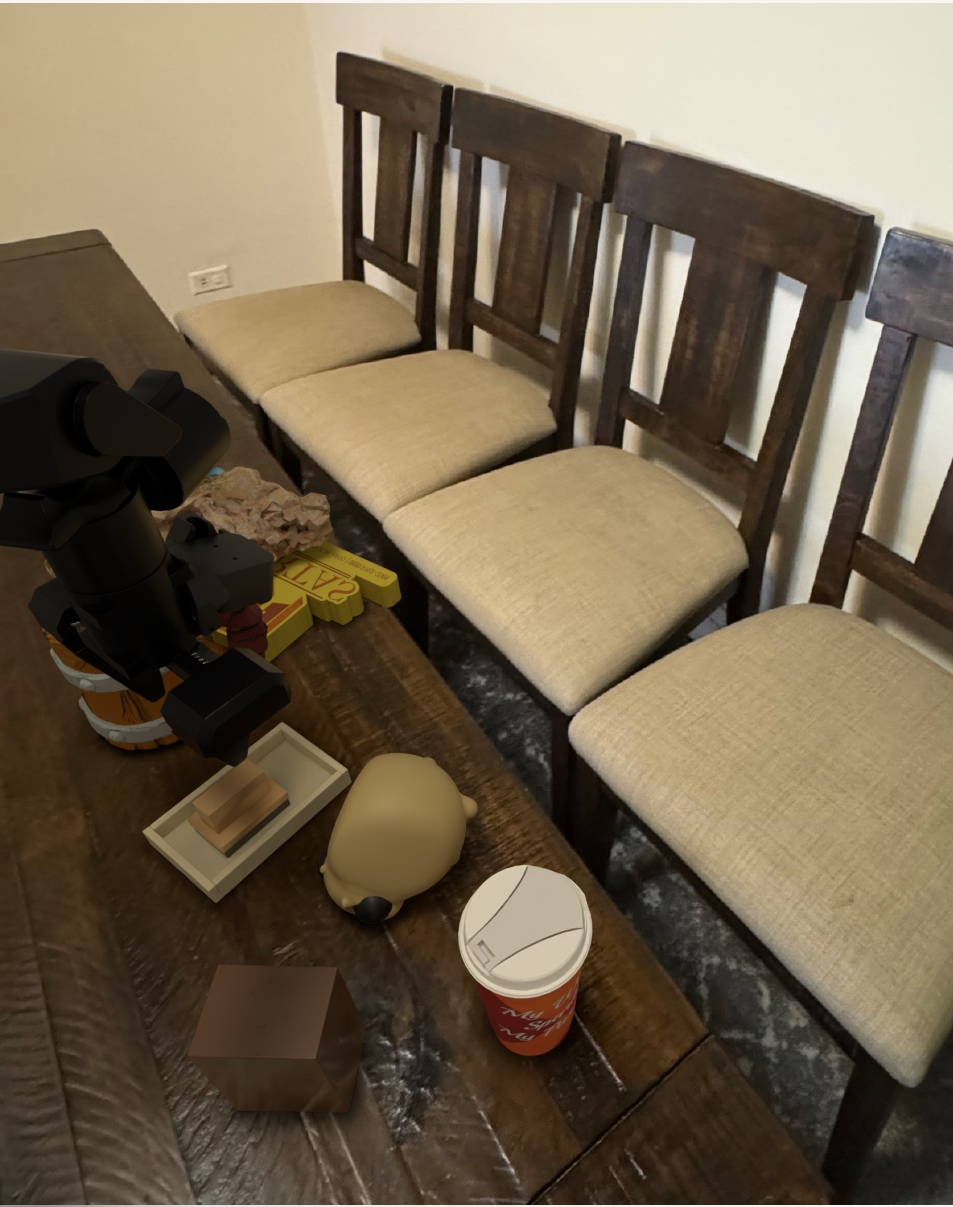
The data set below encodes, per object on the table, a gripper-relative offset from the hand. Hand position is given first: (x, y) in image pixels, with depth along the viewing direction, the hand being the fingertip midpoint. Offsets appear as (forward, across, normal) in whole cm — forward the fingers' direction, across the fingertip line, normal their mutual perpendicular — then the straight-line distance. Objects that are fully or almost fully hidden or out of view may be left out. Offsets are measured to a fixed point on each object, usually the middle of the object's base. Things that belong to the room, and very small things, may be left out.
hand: (197, 728), depth 58 cm
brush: (+12, 0, 0) cm, 12 cm away
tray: (+12, 0, -1) cm, 12 cm away
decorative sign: (+10, +19, -26) cm, 33 cm away
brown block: (+12, -18, +9) cm, 24 cm away
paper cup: (+12, -28, -2) cm, 31 cm away
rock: (+10, +21, -14) cm, 27 cm away
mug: (+12, +14, -5) cm, 19 cm away
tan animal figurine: (+12, -13, -5) cm, 18 cm away
